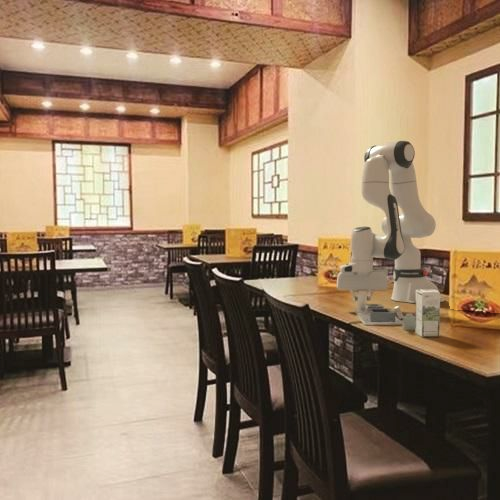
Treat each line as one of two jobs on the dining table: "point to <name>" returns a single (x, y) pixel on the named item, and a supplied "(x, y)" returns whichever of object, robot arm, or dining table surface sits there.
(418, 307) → the syrup box
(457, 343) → the dining table surface
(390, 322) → the fitting board
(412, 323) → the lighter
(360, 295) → the white rounded cylinder
